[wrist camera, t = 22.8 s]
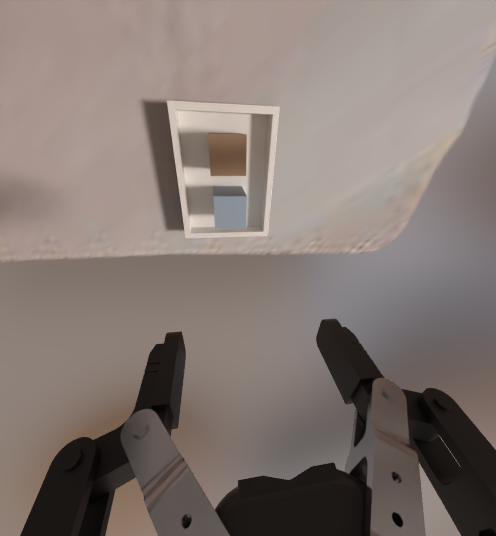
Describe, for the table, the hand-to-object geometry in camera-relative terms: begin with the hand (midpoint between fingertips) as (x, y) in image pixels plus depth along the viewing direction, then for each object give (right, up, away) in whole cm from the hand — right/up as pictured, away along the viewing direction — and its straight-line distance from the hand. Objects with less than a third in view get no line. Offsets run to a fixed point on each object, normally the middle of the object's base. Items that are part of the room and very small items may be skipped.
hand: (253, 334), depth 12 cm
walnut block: (-4, +21, +19) cm, 28 cm away
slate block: (-4, +15, +22) cm, 27 cm away
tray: (-4, +18, +21) cm, 28 cm away
